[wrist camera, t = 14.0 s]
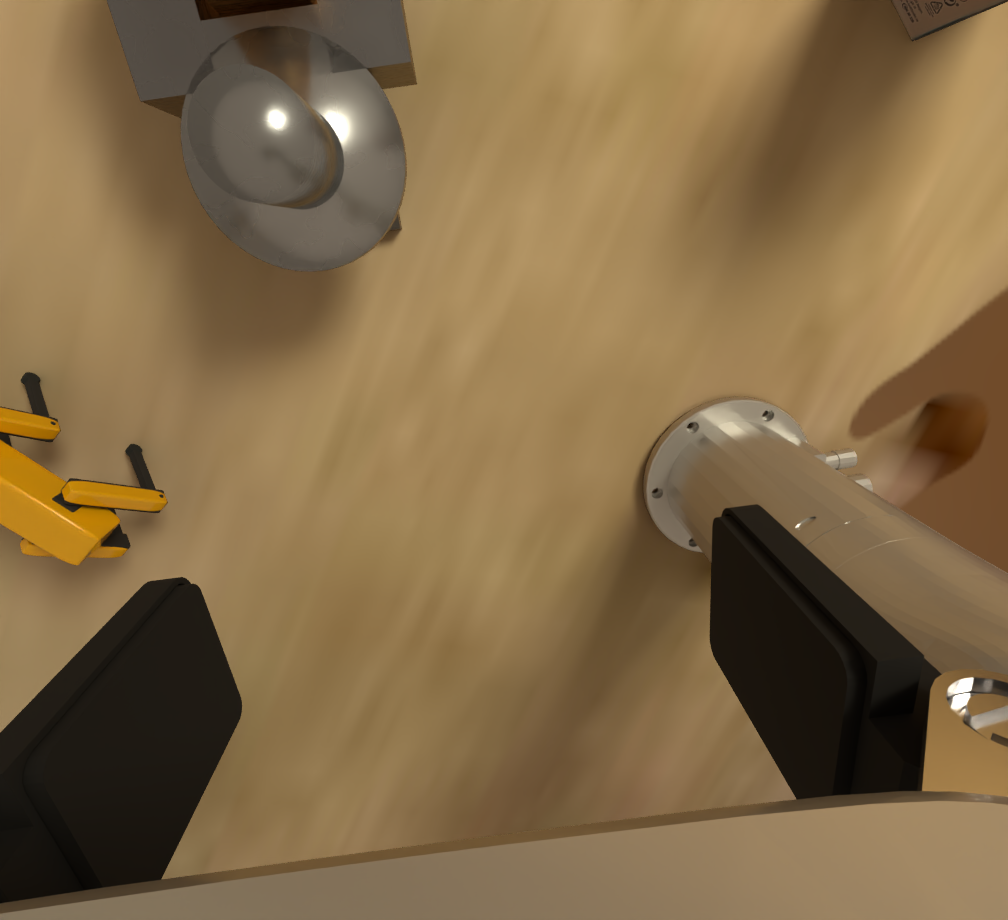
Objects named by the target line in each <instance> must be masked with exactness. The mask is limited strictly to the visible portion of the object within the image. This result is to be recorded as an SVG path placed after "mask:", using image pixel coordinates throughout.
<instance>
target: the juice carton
mask: <svg viewBox="0 0 1008 920" xmlns="http://www.w3.org/2000/svg"><path fill="white" fill-rule="evenodd" d="M892 2H893V4H894V6H895V8H896V10H897V12H898V14H899V16H900V18H901V20H902V22H903V24H904V26H905V28H906V30H907V32H908V34H909V36H910V38H911V40H912V42H913V41H914V40H918V39H920V38H923V37H925V36H927V35H930V34H932V33H934V32H937V31H939V30H942V29H944V28H946V27H949V26H951V25H953V24H956V23H958V22H960V21H963V20H965V19H968V18H970V17H972V16H975V15H977V14H979V13H982V12H984V11H986V10H989V9H991V8H994V7H996V6H998V5H1001V4H1003V3H1005V2H1008V0H892Z"/></svg>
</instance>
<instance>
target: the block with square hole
mask: <svg viewBox="0 0 1008 920" xmlns="http://www.w3.org/2000/svg"><path fill="white" fill-rule="evenodd" d="M107 2H108V5H109V8H110V11H111V14H112V17H113V20H114V23H115V26H116V29H117V32H118V35H119V38H120V41H121V44H122V47H123V50H124V53H125V56H126V59H127V62H128V65H129V68H130V71H131V74H132V77H133V80H134V83H135V86H136V89H137V92H138V95H139V98H140V101H141V102H144V103H146V104H148V105H151V106H153V107H156V108H158V109H160V110H163V111H165V112H167V113H170V114H172V115H175V116H177V117H179V118H181V144H182V151H183V158H184V162H185V166H186V170H187V174H188V176H189V179H190V181H191V184H192V187H193V189H194V191H195V193H196V195H197V197H198V199H199V201H200V203H201V205H202V206H203V208H204V209H205V211H206V212H207V214H208V215H209V217H210V218H211V219H212V220H213V222H214V223H215V224H216V225H217V226H218V228H219V229H220V230H221V231H222V232H223V233H224V234H225V235H226V236H227V237H228V238H229V239H230V240H231V241H233V242H234V243H235V244H236V245H238V246H239V247H240V248H242V249H243V250H244V251H246V252H248V253H249V254H251V255H253V256H254V257H256V258H258V259H260V260H262V261H264V262H267V263H269V264H272V265H275V266H278V267H281V268H285V269H290V270H295V271H310V272H311V271H323V270H328V269H333V268H337V267H341V266H343V265H346V264H348V263H351V262H353V261H355V260H357V259H359V258H360V257H362V256H364V255H365V254H366V253H368V252H369V251H370V250H372V249H373V248H374V247H375V246H376V245H377V244H378V243H379V242H380V241H381V240H382V239H383V238H384V236H385V235H386V234H387V232H388V231H391V230H398V229H402V226H401V221H400V216H399V209H400V207H401V204H402V200H403V196H404V192H405V185H406V176H407V160H406V152H405V144H404V140H403V136H402V132H401V128H400V126H399V123H398V120H397V117H396V115H395V113H394V111H393V109H392V107H391V105H390V103H389V101H388V99H387V97H386V95H385V93H384V92H383V90H382V89H388V88H394V87H401V86H408V85H415V84H417V82H416V76H415V70H414V64H413V58H412V52H411V46H410V40H409V34H408V29H407V23H406V17H405V11H404V5H403V0H317V3H318V4H314V5H307V6H300V7H293V8H286V9H279V10H272V11H265V12H258V13H251V14H244V15H237V16H230V17H222V16H221V15H220V14H219V13H218V12H217V11H215V10H214V9H213V8H212V7H211V6H210V5H209V4H208V3H207V2H206V1H205V0H107Z"/></svg>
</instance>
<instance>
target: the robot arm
mask: <svg viewBox="0 0 1008 920" xmlns="http://www.w3.org/2000/svg"><path fill="white" fill-rule="evenodd" d="M763 413H764V414H763ZM689 423H691V425H690V426H688V424H689ZM687 426H688V427H687ZM856 464H857V455H856V453H855V451H854V450H853V449H850V448H847V449H841V450H835V451H831V452H828V453H822V452H821V451H819V450H817V449H816V448H814V447H812V446H811V445H809V444H808V441H807V438H806V436H805V434H804V432H803V431H802V429H801V427H800V425H799V424H798V423H797V422H796V421H795V420H794V419H793V418H792V417H791V416H790V415H789V414H788V413H786V412H784V411H783V410H781V409H780V408H778V407H776V406H774V405H772V404H770V403H768V402H766V401H763V400H759V399H755V398H750V397H729V398H723V399H717V400H714V401H711V402H708V403H705V404H702V405H700V406H698V407H696V408H695V409H693V410H691V411H689V412H687V413H686V414H684V415H683V416H682V417H681V418H679V419H678V420H677V421H675V422H674V423H673V424H672V425H671V426H670V427H669V428H668V429H667V430H666V432H665V433H664V434H663V435H662V436H661V437H660V439H659V440H658V442H657V444H656V445H655V447H654V448H653V450H652V452H651V455H650V457H649V459H648V462H647V464H646V469H645V474H644V478H643V494H644V499H645V504H646V508H647V510H648V512H649V514H650V516H651V518H652V520H653V521H654V523H655V524H656V526H657V527H658V529H659V530H660V531H661V532H662V533H663V534H664V535H665V536H666V537H667V538H668V539H669V540H671V541H672V542H674V543H675V544H677V545H678V546H680V547H683V548H685V549H688V550H690V551H695V552H700V553H704V554H705V556H706V557H707V558H708V559H709V561H710V562H711V604H710V644H711V649H712V652H713V655H714V657H715V660H716V661H717V663H718V665H719V666H720V668H721V670H722V672H723V673H724V675H725V677H726V679H727V680H728V682H729V684H730V685H731V687H732V689H733V691H734V692H735V694H736V696H737V697H738V699H739V701H740V703H741V704H742V706H743V708H744V709H745V711H746V713H747V715H748V716H749V718H750V720H751V721H752V723H753V725H754V727H755V728H756V730H757V732H758V734H759V735H760V737H761V739H762V740H763V742H764V744H765V746H766V747H767V749H768V751H769V752H770V754H771V756H772V758H773V759H774V761H775V763H776V764H777V766H778V768H779V770H780V771H781V773H782V775H783V776H784V778H785V780H786V782H787V783H788V785H789V787H790V788H791V790H792V792H793V794H794V795H795V797H796V799H797V800H788V801H778V802H769V803H759V804H750V805H740V806H731V807H722V808H712V809H704V810H696V811H688V812H680V813H672V814H664V815H656V816H648V817H640V818H631V819H623V820H615V821H607V822H599V823H591V824H583V825H575V826H567V827H559V828H551V829H543V830H535V831H526V832H519V833H511V834H503V835H495V836H488V837H480V838H472V839H464V840H456V841H449V842H441V843H433V844H425V845H418V846H410V847H402V848H395V849H387V850H379V851H372V852H364V853H356V854H349V855H341V856H334V857H326V858H318V859H311V860H303V861H295V862H288V863H280V864H273V865H266V866H258V867H251V868H244V869H236V870H229V871H222V872H214V873H207V874H200V875H192V876H185V877H178V878H170V879H163V880H161V878H162V876H163V874H164V872H165V870H166V868H167V866H168V864H169V862H170V860H171V858H172V856H173V854H174V852H175V850H176V848H177V846H178V844H179V842H180V840H181V838H182V836H183V834H184V832H185V830H186V828H187V826H188V824H189V822H190V820H191V818H192V815H193V813H194V811H195V809H196V807H197V805H198V803H199V801H200V799H201V797H202V795H203V793H204V791H205V789H206V787H207V785H208V783H209V781H210V779H211V777H212V775H213V773H214V771H215V769H216V767H217V765H218V763H219V761H220V759H221V757H222V755H223V753H224V750H225V748H226V746H227V744H228V742H229V740H230V738H231V736H232V734H233V732H234V730H235V728H236V726H237V724H238V722H239V720H240V717H241V712H242V701H241V697H240V694H239V691H238V689H237V686H236V683H235V681H234V678H233V675H232V672H231V670H230V667H229V664H228V662H227V659H226V656H225V654H224V651H223V648H222V646H221V643H220V640H219V637H218V635H217V632H216V629H215V627H214V624H213V621H212V619H211V616H210V613H209V611H208V608H207V605H206V603H205V600H204V597H203V594H202V592H201V590H200V588H199V587H198V586H197V585H196V584H191V583H190V582H189V581H188V580H187V579H186V578H183V577H180V578H172V579H164V580H156V581H150V582H147V583H146V584H144V585H143V586H142V587H141V588H140V589H139V590H138V591H137V592H136V593H135V594H134V595H133V596H132V597H131V598H130V600H129V601H128V602H127V603H126V604H125V605H124V606H123V607H122V608H121V609H120V610H119V611H118V612H117V613H116V614H115V615H114V616H113V617H112V618H111V619H110V620H109V621H108V622H107V623H106V624H105V625H104V626H103V627H102V628H101V629H100V630H99V632H98V633H97V634H96V635H95V636H94V637H93V638H92V639H91V640H90V641H89V642H88V643H87V644H86V645H85V646H84V647H83V648H82V649H81V650H80V651H79V652H78V653H77V654H76V655H75V656H74V657H73V658H72V659H71V660H70V661H69V662H68V664H67V665H66V666H65V667H64V668H63V669H62V670H61V671H60V672H59V673H58V674H57V675H56V676H55V677H54V678H53V679H52V680H51V681H50V682H49V683H48V684H47V685H46V686H45V687H44V688H43V689H42V690H41V691H40V692H39V693H38V694H37V695H36V697H35V698H34V699H33V700H32V701H31V702H30V703H29V704H28V705H27V706H26V707H25V708H24V709H23V710H22V711H21V712H20V713H19V714H18V715H17V716H16V717H15V718H14V719H13V720H12V721H11V722H10V723H9V724H8V725H7V726H6V727H5V729H4V730H3V731H2V732H1V733H0V920H1008V574H1007V573H1006V572H1004V571H1002V570H1001V569H999V568H997V567H995V566H994V565H992V564H990V563H988V562H987V561H985V560H983V559H981V558H980V557H978V556H976V555H974V554H973V553H971V552H969V551H967V550H966V549H964V548H962V547H960V546H959V545H957V544H956V543H954V542H952V541H951V540H949V539H947V538H946V537H944V536H942V535H941V534H939V533H938V532H936V531H934V530H933V529H931V528H929V527H928V526H926V525H925V524H923V523H921V522H920V521H918V520H917V519H915V518H913V517H912V516H910V515H908V514H907V513H905V512H904V511H902V510H901V509H899V508H897V507H896V506H894V505H892V504H891V503H889V502H888V501H886V500H884V499H883V498H881V497H880V496H878V495H876V494H875V493H873V492H872V491H873V489H872V484H871V482H870V480H869V478H868V477H867V476H866V475H865V474H855V475H849V476H846V475H844V474H842V473H841V472H839V471H838V469H844V468H851V467H854V466H856ZM654 489H655V490H654ZM653 490H654V491H653Z"/></svg>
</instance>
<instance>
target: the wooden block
mask: <svg viewBox="0 0 1008 920" xmlns="http://www.w3.org/2000/svg"><path fill="white" fill-rule="evenodd" d="M205 1H206V2H207V3H208V4H209V5H210V6H211V7H212V8H213V9H214V10H215V11H217V12H218V13H219V14H220V15H221V16H222V17H230V16H237V15H244V14H251V13H258V12H265V11H272V10H279V9H286V8H293V7H300V6H307V5H314V4H318V3H317V0H205Z"/></svg>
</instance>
